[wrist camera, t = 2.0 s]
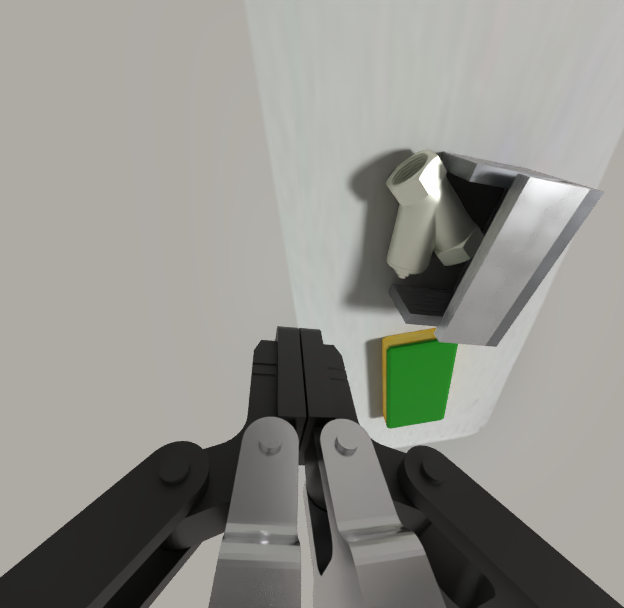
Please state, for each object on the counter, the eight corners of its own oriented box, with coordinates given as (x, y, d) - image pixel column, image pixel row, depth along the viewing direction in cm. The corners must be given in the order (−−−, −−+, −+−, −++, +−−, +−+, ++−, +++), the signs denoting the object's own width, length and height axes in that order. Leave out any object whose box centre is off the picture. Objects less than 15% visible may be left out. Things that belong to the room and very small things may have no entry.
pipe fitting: (399, 272, 27) (469, 224, 25) (411, 297, 24) (493, 246, 22) (345, 208, 24) (421, 144, 21) (352, 229, 21) (442, 157, 18)
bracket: (443, 151, 21) (497, 170, 16) (527, 168, 22) (604, 191, 17) (389, 293, 28) (415, 340, 23) (456, 300, 29) (496, 346, 24)
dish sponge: (448, 322, 31) (459, 338, 29) (435, 403, 39) (444, 420, 37) (380, 334, 31) (387, 350, 29) (381, 412, 39) (387, 429, 37)
